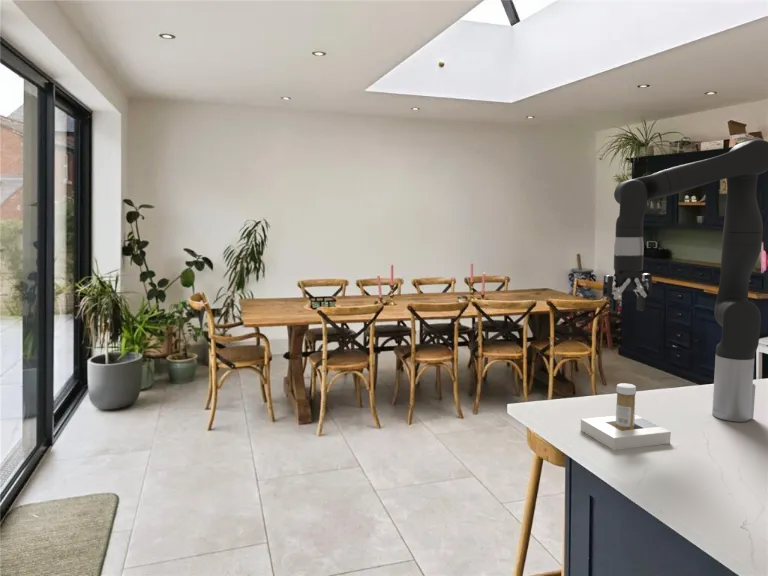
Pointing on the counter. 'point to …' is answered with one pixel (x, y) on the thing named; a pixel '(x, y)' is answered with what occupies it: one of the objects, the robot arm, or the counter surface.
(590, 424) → the housing
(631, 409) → the sprinkles bottle
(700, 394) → the counter surface
